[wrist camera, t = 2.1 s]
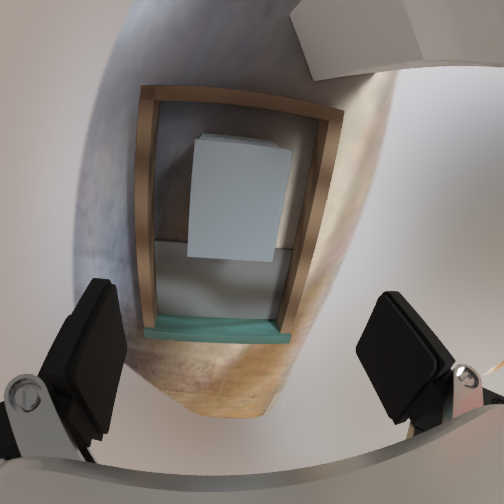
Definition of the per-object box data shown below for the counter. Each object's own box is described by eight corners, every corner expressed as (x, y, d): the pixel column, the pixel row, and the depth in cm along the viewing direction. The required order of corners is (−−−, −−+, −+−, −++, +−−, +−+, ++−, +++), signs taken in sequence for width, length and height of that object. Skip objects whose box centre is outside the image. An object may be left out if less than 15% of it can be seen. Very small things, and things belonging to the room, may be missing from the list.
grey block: (201, 132, 22) (195, 139, 16) (272, 140, 23) (292, 150, 17) (194, 220, 26) (187, 256, 20) (258, 224, 27) (272, 262, 21)
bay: (148, 88, 19) (139, 84, 17) (332, 110, 22) (347, 111, 19) (148, 319, 31) (144, 337, 28) (283, 326, 33) (288, 343, 31)
